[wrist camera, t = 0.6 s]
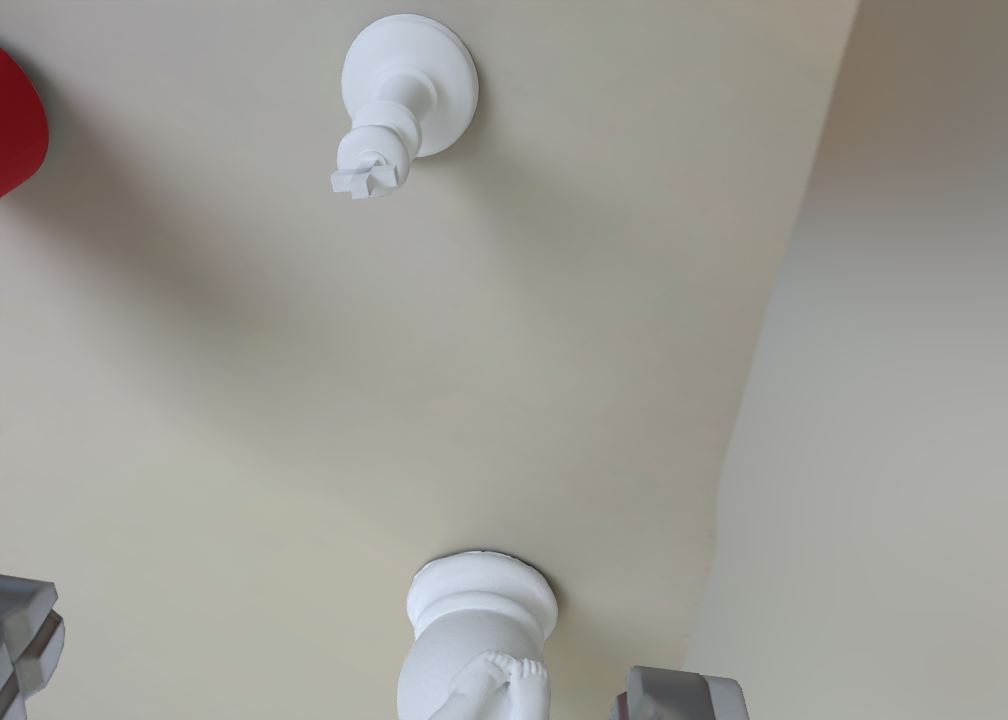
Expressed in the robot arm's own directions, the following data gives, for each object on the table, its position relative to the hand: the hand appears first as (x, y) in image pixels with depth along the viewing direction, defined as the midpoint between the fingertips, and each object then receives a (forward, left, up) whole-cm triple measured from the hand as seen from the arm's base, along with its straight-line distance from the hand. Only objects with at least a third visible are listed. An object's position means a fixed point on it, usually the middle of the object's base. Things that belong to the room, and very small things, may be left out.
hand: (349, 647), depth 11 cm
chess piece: (-1, -3, -22) cm, 22 cm away
